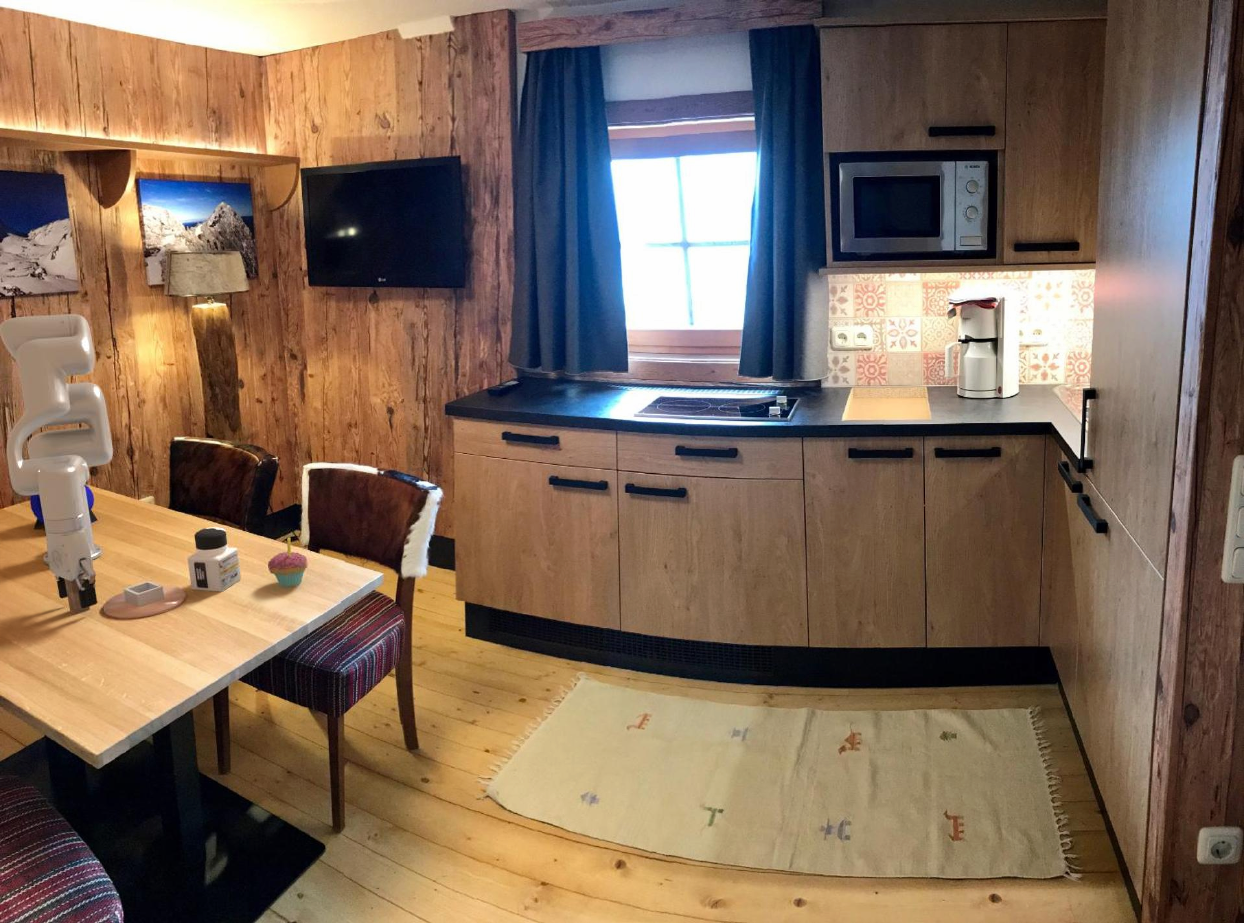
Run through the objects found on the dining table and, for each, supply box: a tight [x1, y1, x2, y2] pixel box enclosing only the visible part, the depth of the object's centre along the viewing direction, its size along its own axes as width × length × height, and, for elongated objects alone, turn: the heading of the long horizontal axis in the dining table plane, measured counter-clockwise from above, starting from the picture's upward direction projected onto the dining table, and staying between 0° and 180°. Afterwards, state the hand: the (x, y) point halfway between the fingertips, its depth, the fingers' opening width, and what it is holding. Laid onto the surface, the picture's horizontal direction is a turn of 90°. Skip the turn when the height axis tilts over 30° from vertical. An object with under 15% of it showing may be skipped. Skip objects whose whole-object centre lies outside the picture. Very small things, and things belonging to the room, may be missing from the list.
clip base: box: [103, 580, 186, 620], centre depth 212 cm, size 16×16×4 cm
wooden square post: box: [65, 573, 91, 615], centre depth 208 cm, size 3×3×9 cm
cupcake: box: [267, 534, 309, 588], centre depth 221 cm, size 9×8×12 cm
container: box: [187, 526, 242, 593], centre depth 221 cm, size 8×8×13 cm
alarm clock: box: [29, 484, 98, 530], centre depth 264 cm, size 12×12×15 cm
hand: (78, 600), depth 209 cm, fingers open, 8 cm apart
